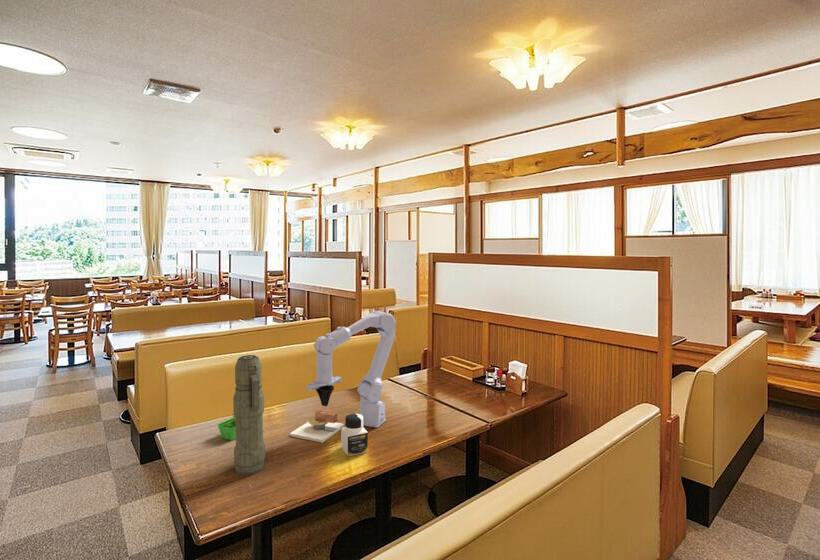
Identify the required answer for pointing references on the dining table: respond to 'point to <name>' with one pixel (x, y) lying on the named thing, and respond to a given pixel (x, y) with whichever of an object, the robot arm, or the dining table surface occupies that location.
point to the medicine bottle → (354, 435)
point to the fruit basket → (228, 429)
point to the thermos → (248, 416)
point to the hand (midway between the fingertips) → (324, 405)
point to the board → (317, 431)
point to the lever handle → (323, 418)
